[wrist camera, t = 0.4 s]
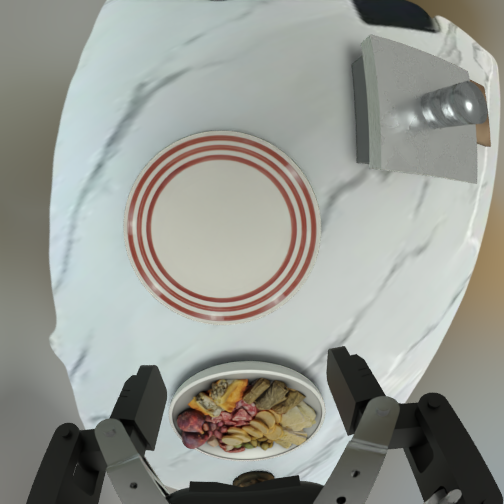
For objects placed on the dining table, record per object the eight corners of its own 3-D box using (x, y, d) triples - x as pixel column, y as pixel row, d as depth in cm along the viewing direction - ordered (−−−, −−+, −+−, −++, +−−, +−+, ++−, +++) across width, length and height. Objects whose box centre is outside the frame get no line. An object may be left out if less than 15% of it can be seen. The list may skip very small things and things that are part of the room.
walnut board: (437, 68, 32) (442, 66, 31) (479, 87, 33) (484, 86, 31) (445, 133, 36) (450, 132, 34) (485, 146, 36) (490, 146, 35)
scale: (351, 64, 33) (373, 46, 25) (435, 87, 33) (463, 78, 26) (356, 162, 37) (382, 161, 29) (440, 173, 38) (470, 176, 30)
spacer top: (437, 82, 22) (457, 75, 18) (464, 93, 22) (484, 88, 18) (441, 120, 23) (463, 117, 19) (467, 130, 23) (489, 128, 19)
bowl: (294, 327, 44) (304, 355, 37) (332, 421, 53) (341, 446, 45) (144, 376, 46) (133, 404, 39) (215, 454, 54) (214, 478, 47)
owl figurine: (238, 467, 57) (240, 518, 40) (280, 468, 58) (288, 517, 41) (229, 490, 61) (230, 532, 45) (266, 491, 62) (271, 532, 46)
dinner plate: (178, 336, 44) (175, 347, 41) (103, 184, 36) (93, 185, 33) (336, 278, 42) (343, 286, 39) (275, 106, 35) (278, 100, 32)
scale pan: (360, 43, 26) (370, 34, 23) (455, 75, 27) (467, 71, 24) (369, 169, 31) (381, 169, 28) (463, 181, 32) (477, 183, 29)
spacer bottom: (419, 88, 25) (436, 82, 21) (445, 97, 26) (463, 93, 22) (422, 124, 27) (441, 121, 23) (448, 131, 27) (468, 129, 23)
